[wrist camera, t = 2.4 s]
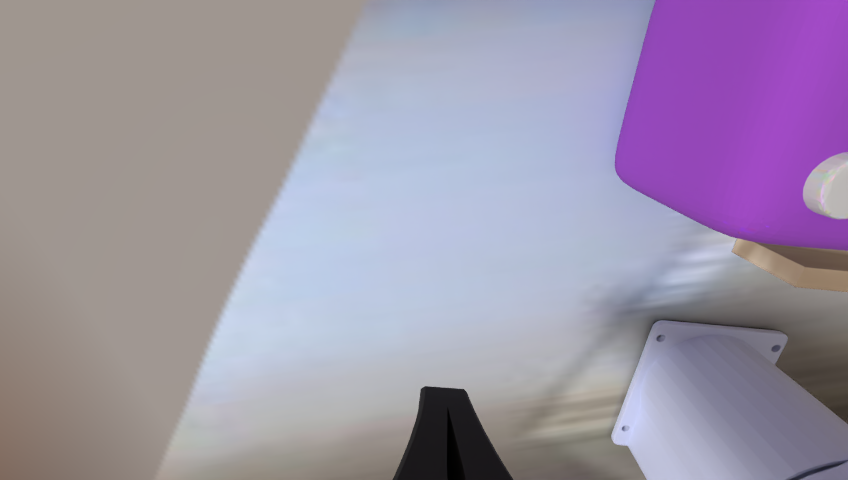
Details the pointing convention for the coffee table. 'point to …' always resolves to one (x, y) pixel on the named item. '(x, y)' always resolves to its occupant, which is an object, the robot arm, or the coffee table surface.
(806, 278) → the wooden tray
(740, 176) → the toy camera
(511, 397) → the coffee table surface
